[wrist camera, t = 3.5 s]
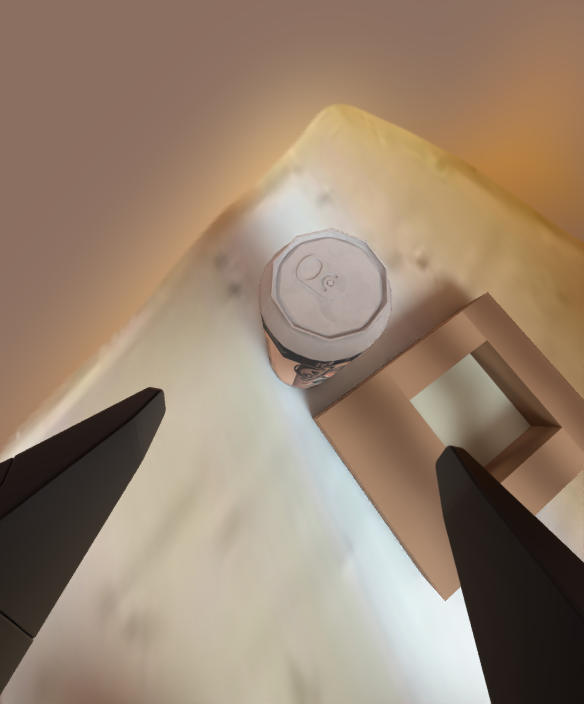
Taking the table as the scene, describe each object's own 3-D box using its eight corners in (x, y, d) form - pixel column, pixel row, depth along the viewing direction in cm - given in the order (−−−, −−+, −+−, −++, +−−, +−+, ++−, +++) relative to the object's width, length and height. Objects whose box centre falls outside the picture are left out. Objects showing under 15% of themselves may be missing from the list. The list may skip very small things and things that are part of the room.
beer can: (307, 403, 20) (346, 386, 8) (256, 361, 21) (224, 291, 9) (347, 352, 21) (431, 273, 9) (297, 314, 21) (317, 192, 10)
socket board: (422, 575, 18) (445, 601, 15) (312, 418, 20) (316, 418, 17) (576, 434, 20) (617, 436, 18) (464, 305, 22) (487, 292, 20)
